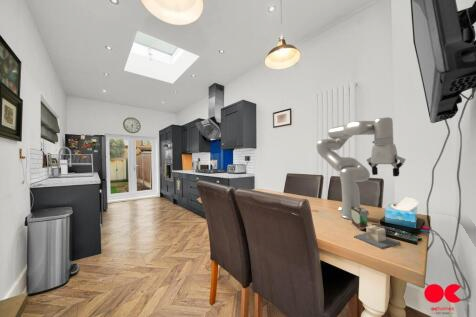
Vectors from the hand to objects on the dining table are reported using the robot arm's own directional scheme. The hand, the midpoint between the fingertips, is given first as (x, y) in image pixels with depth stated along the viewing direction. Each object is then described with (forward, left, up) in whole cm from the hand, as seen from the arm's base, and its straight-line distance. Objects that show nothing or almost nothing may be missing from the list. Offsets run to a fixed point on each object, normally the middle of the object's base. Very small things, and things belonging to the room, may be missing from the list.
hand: (384, 175), depth 92 cm
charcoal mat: (+5, -16, -28) cm, 33 cm away
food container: (-8, -7, -28) cm, 30 cm away
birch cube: (+5, -16, -28) cm, 32 cm away
